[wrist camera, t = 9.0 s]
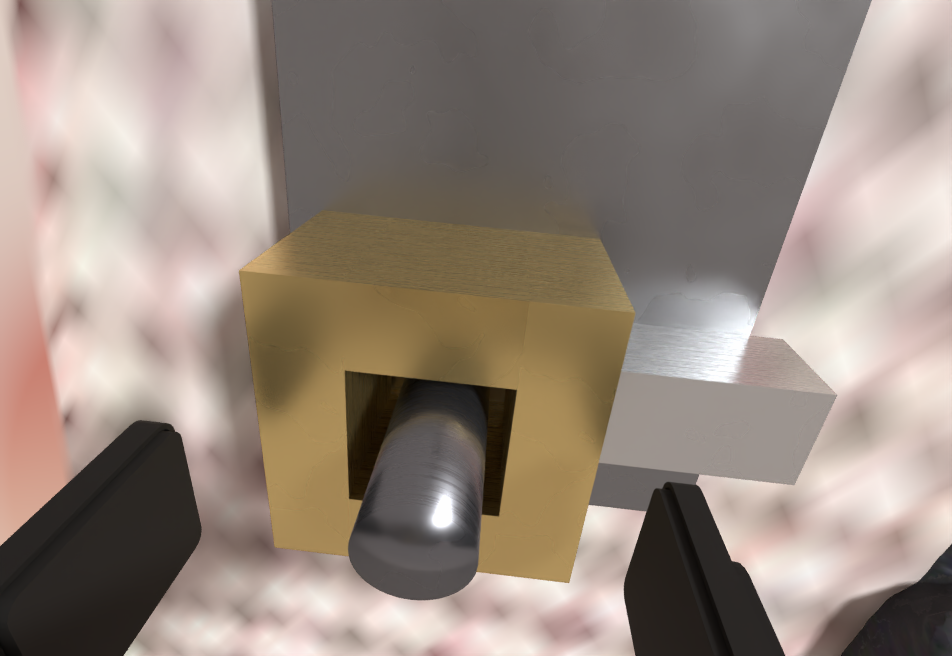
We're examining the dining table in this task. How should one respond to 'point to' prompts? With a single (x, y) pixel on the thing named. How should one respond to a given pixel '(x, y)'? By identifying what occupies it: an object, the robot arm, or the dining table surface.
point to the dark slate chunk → (912, 619)
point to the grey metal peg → (425, 493)
